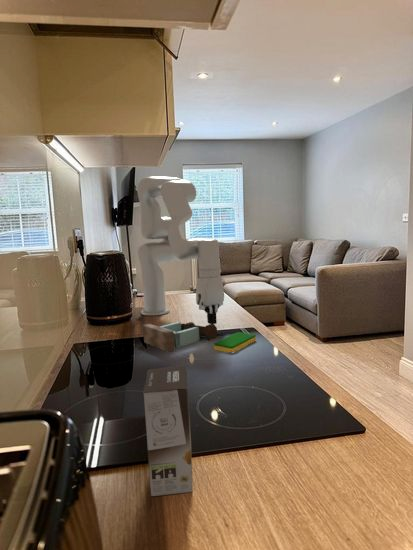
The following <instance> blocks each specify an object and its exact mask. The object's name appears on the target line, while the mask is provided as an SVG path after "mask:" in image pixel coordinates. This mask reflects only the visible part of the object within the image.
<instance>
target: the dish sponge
mask: <svg viewBox="0 0 413 550" xmlns="http://www.w3.org/2000/svg"><path fill="white" fill-rule="evenodd" d="M255 340H256V341H257V335H256V334H253V333H247V332H240V331H237V332H235V333H232V334H230V335H229V336H227V337H224V338H222V339H220V340H218V341H216V342H214V343H213V349H214V350H215V351H220V352H225V353H229V352H234V353H236V352H237V351H236V350H238V349H240V350H241V348H242V349H243V348H245V347H247V346H249V345H251V344H252V342H253V343H254V341H255ZM256 341H255V342H256ZM250 343H251V344H250ZM248 344H249V345H248ZM246 345H247V346H246ZM235 351H236V352H235ZM238 351H239V350H238Z"/></svg>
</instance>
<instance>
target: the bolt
mask: <svg viewBox="0 0 413 550" xmlns="http://www.w3.org/2000/svg"><path fill="white" fill-rule="evenodd" d="M193 327H199V336H202V337H204V338H205V340H207V341H212V340H215V339H216V337H217V334H218V328H217V326H216V324H209V323H208V324H207V325H205V326H202V325H197V324H195V323H194V322H192V321H191V322H190V321H189V322H186V323H181V331H182V330H186V329H190V328H193Z"/></svg>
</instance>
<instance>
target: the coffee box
mask: <svg viewBox="0 0 413 550" xmlns="http://www.w3.org/2000/svg"><path fill="white" fill-rule="evenodd" d="M186 368H187V367H186V366H185V365H182V366H181V365H179V366H176V365H175V366H166V367H159V368H149V369H148V370H147V374H146V378H145V381H144V385H143V386H144V387H143V388H142V389H143V390H142V395H143V402H144V403H143V405H144V417H145V419H144V420H145V431H146V432H145V433H146V443H147V445H146V446H147V459H148V471H149V473H148V474H149V485H150V496H151V497H156V496H158V497H159V496H165V495H177V494H185V493H191V492H193V465H192V464H193V463H192V461H193V460H192V459H193V458H192V438H191V437H192V436H191V418H190V403H189V390H188V378H187V369H186Z"/></svg>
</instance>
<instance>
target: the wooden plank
mask: <svg viewBox="0 0 413 550" xmlns="http://www.w3.org/2000/svg"><path fill="white" fill-rule="evenodd" d="M142 329H143V341H144V343H145V344H147V345H149V344H150V346H152V345H153V346H152V347H154V346H155V347H154V348H157V347H158V348H157V349H159V348H160V350H162V349H163V350H162V351H164V350H165V352H167V351H168V352H167V353H169V352H173V351H175V348H176V347H174V333H173V331H171V330H168V329H164V328H161V327H160V326H158V325H155V324H153V323H152V324H151V323H147V324H143V325H142Z"/></svg>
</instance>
